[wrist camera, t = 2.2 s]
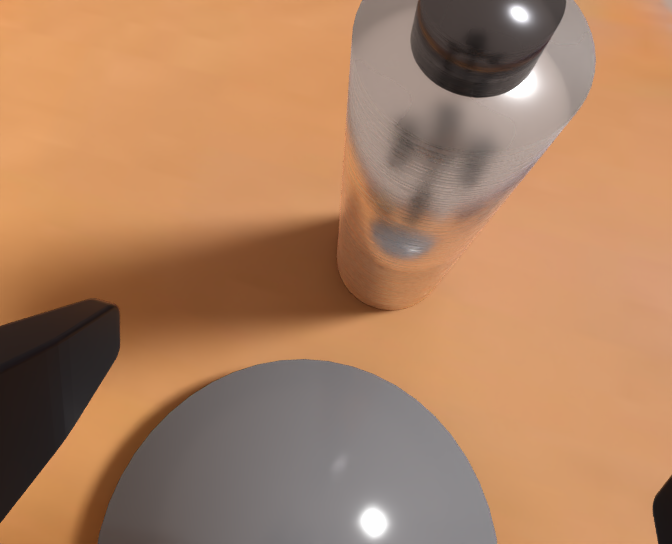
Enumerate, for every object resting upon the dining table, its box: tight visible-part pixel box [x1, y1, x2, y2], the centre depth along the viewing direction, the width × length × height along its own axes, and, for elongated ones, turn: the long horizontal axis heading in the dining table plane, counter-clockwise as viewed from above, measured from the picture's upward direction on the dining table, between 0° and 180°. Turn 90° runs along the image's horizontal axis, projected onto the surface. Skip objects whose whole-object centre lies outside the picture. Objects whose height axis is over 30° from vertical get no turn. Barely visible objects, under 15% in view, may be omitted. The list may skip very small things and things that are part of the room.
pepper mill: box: [337, 0, 596, 310], centre depth 15 cm, size 5×5×14 cm
